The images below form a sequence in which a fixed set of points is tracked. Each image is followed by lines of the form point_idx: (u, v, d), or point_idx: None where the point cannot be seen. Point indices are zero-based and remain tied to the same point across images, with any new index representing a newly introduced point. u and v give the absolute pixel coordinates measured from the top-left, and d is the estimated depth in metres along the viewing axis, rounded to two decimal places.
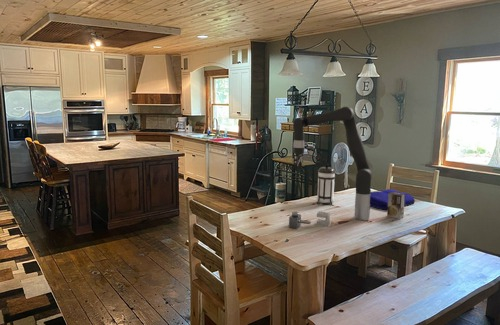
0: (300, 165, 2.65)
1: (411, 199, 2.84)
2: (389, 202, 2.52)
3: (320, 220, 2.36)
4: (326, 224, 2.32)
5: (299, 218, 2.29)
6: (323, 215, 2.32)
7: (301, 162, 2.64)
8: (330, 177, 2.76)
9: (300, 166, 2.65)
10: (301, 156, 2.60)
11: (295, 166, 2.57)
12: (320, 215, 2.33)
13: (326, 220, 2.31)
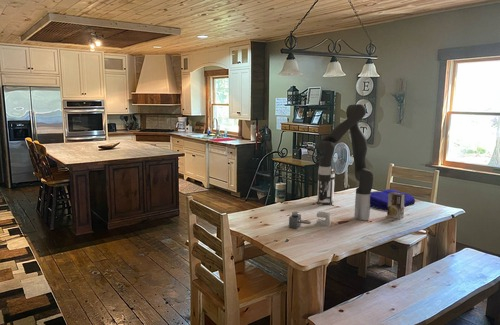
0: (325, 193, 2.36)
1: (411, 199, 2.84)
2: (389, 202, 2.52)
3: (320, 220, 2.36)
4: (326, 224, 2.32)
5: (299, 218, 2.29)
6: (323, 215, 2.32)
7: (326, 190, 2.36)
8: None
9: (325, 194, 2.36)
10: (327, 184, 2.32)
11: (320, 195, 2.28)
12: (320, 215, 2.33)
13: (326, 220, 2.31)
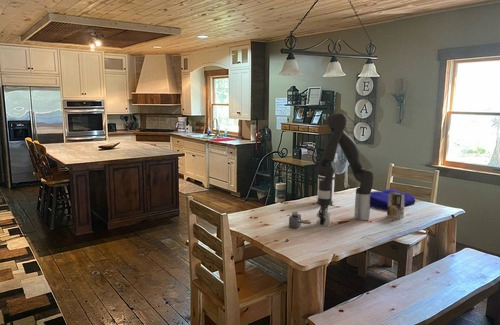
0: (324, 218, 2.37)
1: (412, 199, 2.83)
2: (389, 202, 2.52)
3: None
4: (326, 224, 2.32)
5: (299, 218, 2.29)
6: None
7: None
8: None
9: (324, 219, 2.37)
10: (326, 207, 2.34)
11: (321, 220, 2.31)
12: None
13: (326, 220, 2.31)
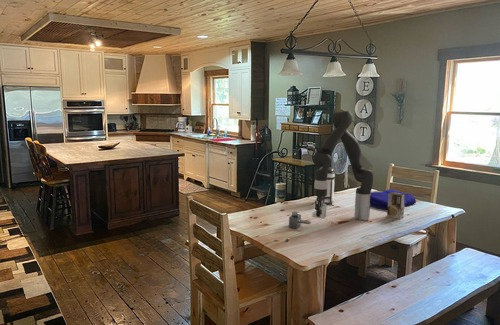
0: (321, 210, 2.25)
1: (412, 199, 2.83)
2: (389, 202, 2.52)
3: None
4: (322, 216, 2.20)
5: (299, 218, 2.29)
6: None
7: None
8: (330, 177, 2.76)
9: (321, 211, 2.25)
10: (323, 198, 2.21)
11: (317, 211, 2.19)
12: None
13: (322, 212, 2.19)
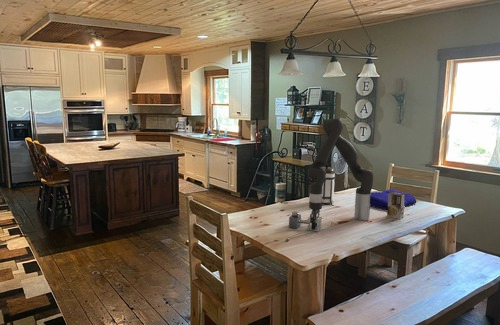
0: (316, 223, 2.27)
1: (413, 199, 2.83)
2: (389, 202, 2.52)
3: None
4: (317, 229, 2.22)
5: (299, 218, 2.29)
6: None
7: None
8: (330, 177, 2.76)
9: None
10: (318, 211, 2.24)
11: (312, 224, 2.21)
12: None
13: (317, 225, 2.21)
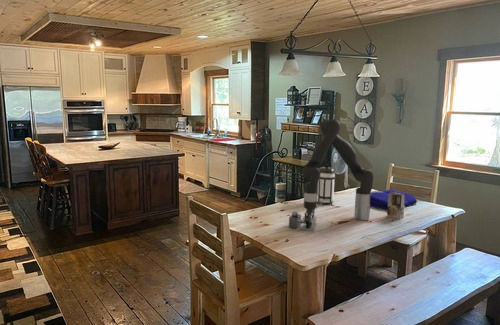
0: None
1: (413, 199, 2.83)
2: (389, 202, 2.52)
3: None
4: (312, 228, 2.23)
5: (299, 218, 2.29)
6: None
7: None
8: (330, 177, 2.76)
9: (311, 222, 2.29)
10: (313, 210, 2.25)
11: (306, 223, 2.22)
12: None
13: (312, 224, 2.23)
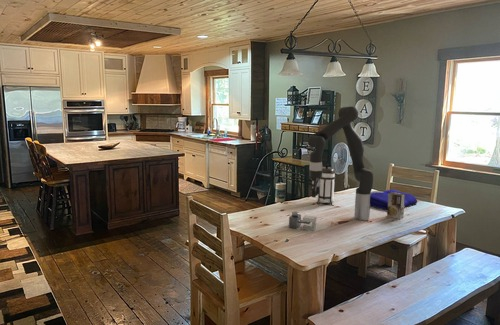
0: (317, 190, 2.30)
1: (414, 199, 2.83)
2: (389, 202, 2.52)
3: (306, 224, 2.27)
4: (312, 229, 2.23)
5: (299, 218, 2.29)
6: (309, 219, 2.23)
7: (318, 186, 2.30)
8: (330, 177, 2.76)
9: (317, 191, 2.30)
10: (319, 180, 2.26)
11: (312, 192, 2.22)
12: (306, 219, 2.24)
13: (312, 224, 2.23)
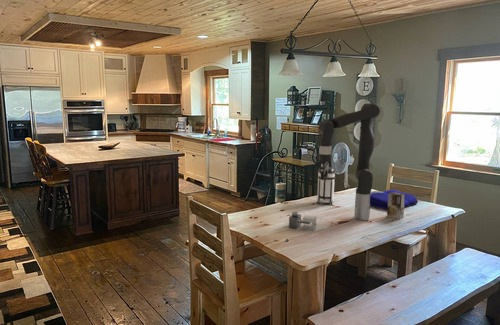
0: (326, 173, 2.40)
1: (414, 199, 2.82)
2: (389, 202, 2.52)
3: (306, 224, 2.27)
4: (312, 228, 2.23)
5: (299, 218, 2.29)
6: (309, 219, 2.23)
7: (327, 170, 2.39)
8: (330, 177, 2.76)
9: (326, 174, 2.40)
10: (327, 163, 2.35)
11: (321, 175, 2.32)
12: (306, 219, 2.24)
13: (312, 224, 2.23)
